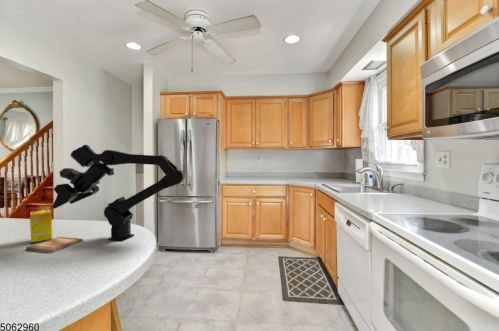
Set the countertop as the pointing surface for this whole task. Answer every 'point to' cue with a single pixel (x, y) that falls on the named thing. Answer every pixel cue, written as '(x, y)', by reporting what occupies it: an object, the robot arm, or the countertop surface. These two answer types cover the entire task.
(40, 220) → the supplement box
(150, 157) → the robot arm
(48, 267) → the countertop surface
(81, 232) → the countertop surface
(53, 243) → the marked board
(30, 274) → the countertop surface
